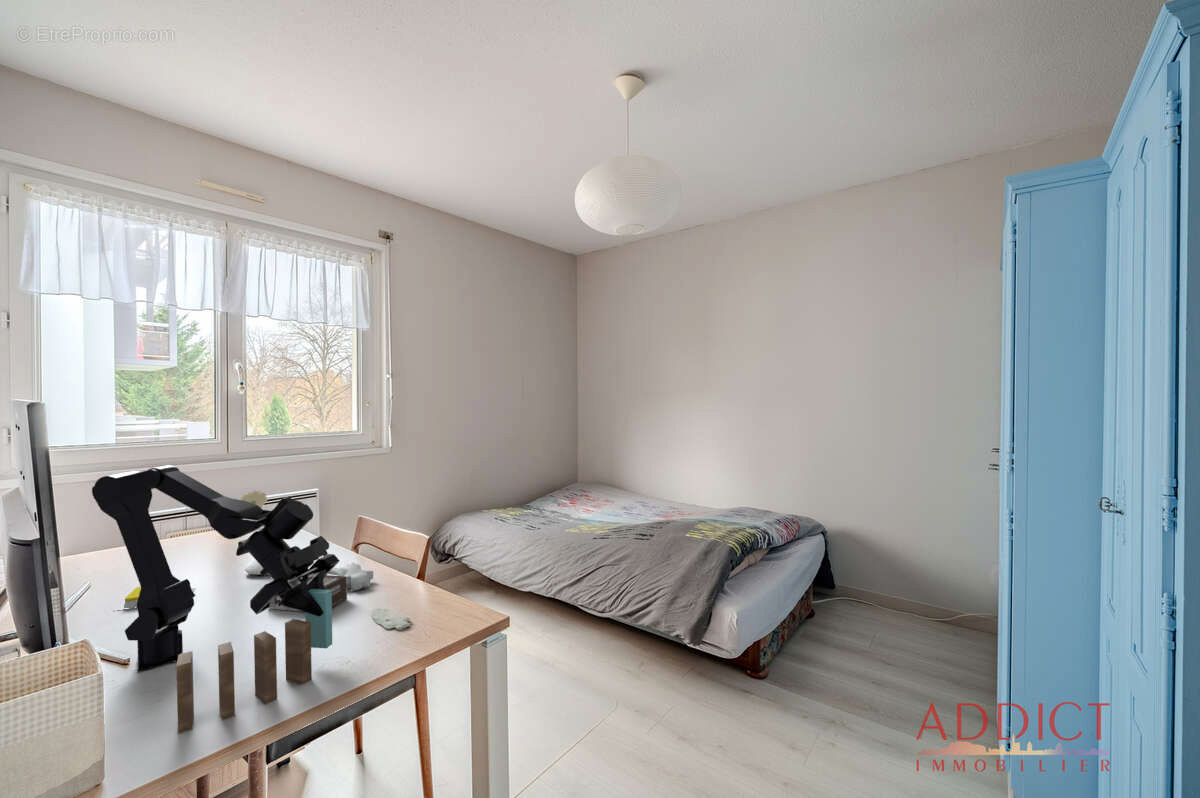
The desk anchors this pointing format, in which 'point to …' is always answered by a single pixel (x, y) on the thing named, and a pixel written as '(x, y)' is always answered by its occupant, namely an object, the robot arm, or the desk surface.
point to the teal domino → (321, 619)
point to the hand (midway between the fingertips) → (325, 612)
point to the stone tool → (390, 619)
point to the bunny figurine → (354, 576)
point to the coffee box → (330, 583)
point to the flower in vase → (259, 500)
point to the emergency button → (135, 598)
